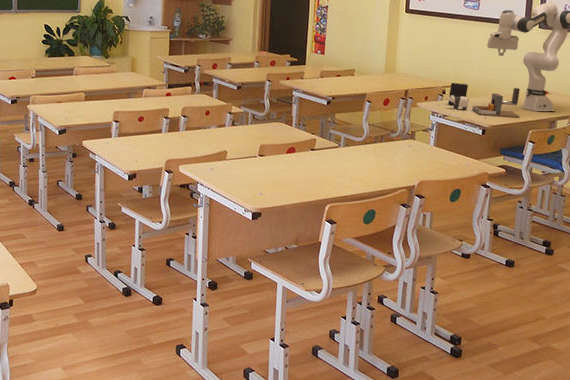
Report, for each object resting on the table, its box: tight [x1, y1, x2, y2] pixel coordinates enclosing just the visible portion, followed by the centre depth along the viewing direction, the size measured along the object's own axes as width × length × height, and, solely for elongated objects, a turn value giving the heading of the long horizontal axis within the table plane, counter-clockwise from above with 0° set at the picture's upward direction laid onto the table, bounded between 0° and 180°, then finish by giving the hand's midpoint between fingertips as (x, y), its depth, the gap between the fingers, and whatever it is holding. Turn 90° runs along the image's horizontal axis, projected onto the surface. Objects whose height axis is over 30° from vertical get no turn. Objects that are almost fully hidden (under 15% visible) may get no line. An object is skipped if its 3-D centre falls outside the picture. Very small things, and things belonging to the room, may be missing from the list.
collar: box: [487, 102, 494, 111], centre depth 542 cm, size 2×6×5 cm, turn 4°
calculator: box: [448, 82, 469, 106], centre depth 561 cm, size 11×4×15 cm, turn 84°
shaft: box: [502, 87, 520, 106], centre depth 541 cm, size 13×3×11 cm, turn 94°
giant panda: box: [446, 95, 470, 111], centre depth 548 cm, size 15×6×10 cm, turn 91°
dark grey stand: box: [471, 93, 520, 119], centre depth 542 cm, size 27×16×13 cm, turn 94°
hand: (500, 55), depth 553 cm, fingers closed
